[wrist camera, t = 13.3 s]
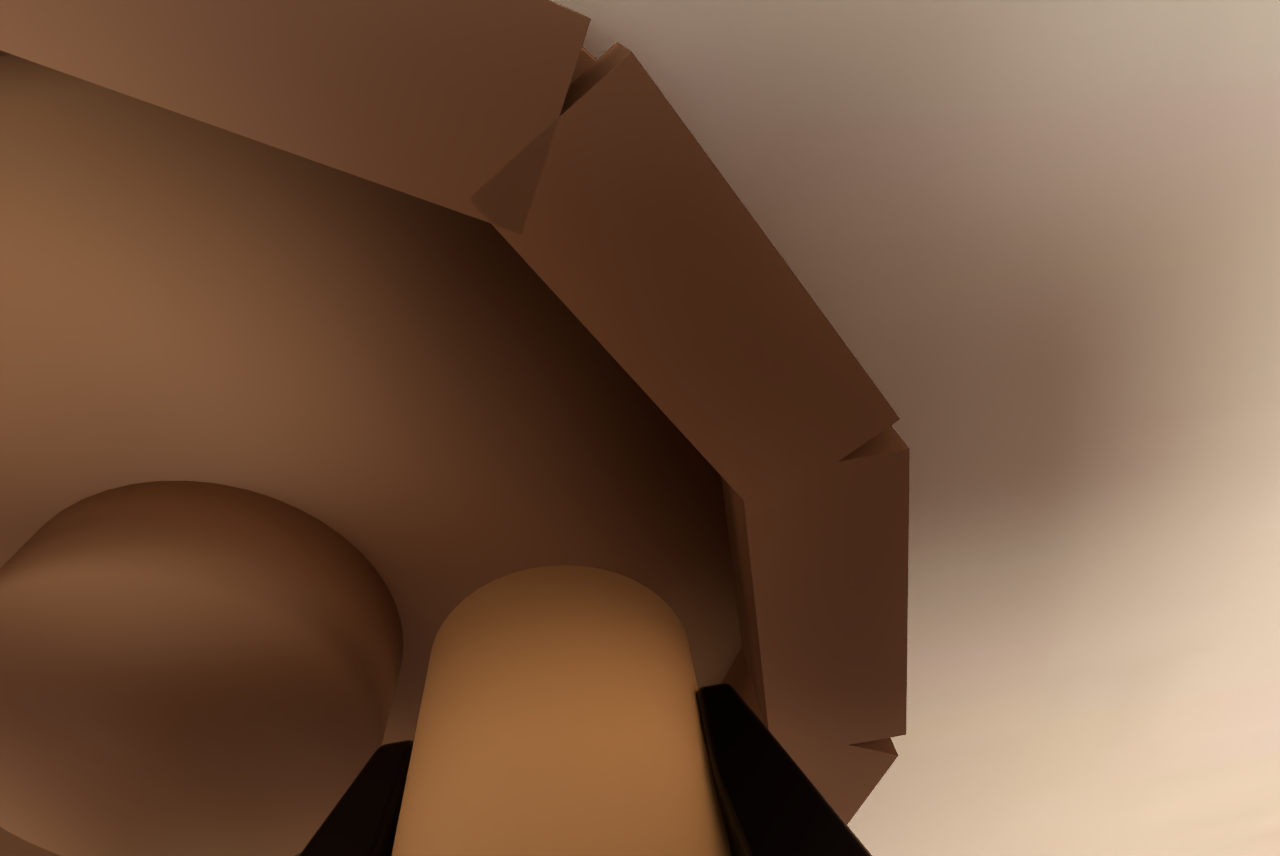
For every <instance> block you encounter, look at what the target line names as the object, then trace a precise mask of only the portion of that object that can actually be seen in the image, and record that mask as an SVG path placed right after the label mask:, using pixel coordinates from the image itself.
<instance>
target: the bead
mask: <svg viewBox="0 0 1280 856" xmlns="http://www.w3.org/2000/svg"><path fill="white" fill-rule="evenodd" d="M697 691H698V686H697V682H696V677H695V672H694V667H693V662H692V657H691V652H690V647H689V642H688V639H687V636H686V633H685V630H684V628H683V626H682V624H681V622H680V620H679V618H678V617H677V615H676V614H675V613H674V611H673V610H672V609H671V607H670V606H669V605H668V604H667V603H666V602H665V601H664V600H663V599H662V598H661V597H660V596H658V595H657V594H656V593H654V592H653V591H652V590H650V589H649V588H648V587H646V586H644V585H642V584H640V583H639V582H637V581H635V580H633V579H631V578H628V577H626V576H623V575H621V574H618V573H615V572H611V571H607V570H604V569H600V568H593V567H587V566H575V565H556V566H544V567H537V568H531V569H526V570H523V571H519V572H515V573H512V574H509V575H506V576H504V577H501V578H499V579H496V580H494V581H492V582H490V583H488V584H486V585H485V586H483V587H481V588H479V589H478V590H476V591H475V592H473V593H472V594H471V595H469V596H468V597H466V598H465V599H464V600H463V601H462V602H461V603H460V604H459V605H457V606H456V607H455V608H454V609H453V611H452V612H451V613H450V614H449V615H448V617H447V618H446V619H445V620H444V622H443V624H442V626H441V627H440V629H439V631H438V632H437V635H436V637H435V640H434V643H433V645H432V650H431V655H430V661H429V666H428V671H427V676H426V681H425V686H424V691H423V696H422V702H421V707H420V712H419V717H418V722H417V727H416V732H415V737H414V743H413V748H412V753H411V758H410V763H409V768H408V773H407V779H406V784H405V789H404V794H403V799H402V804H401V809H400V814H399V820H398V825H397V830H396V835H395V840H394V845H393V850H392V855H391V856H732V853H731V848H730V843H729V838H728V834H727V830H726V827H725V823H724V819H723V815H722V811H721V807H720V803H719V800H718V796H717V791H716V787H715V783H714V778H713V773H712V768H711V763H710V758H709V753H708V748H707V743H706V738H705V733H704V729H703V724H702V719H701V714H700V709H699V704H698V699H697Z"/></svg>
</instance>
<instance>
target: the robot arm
mask: <svg viewBox="0 0 1280 856" xmlns="http://www.w3.org/2000/svg"><path fill="white" fill-rule="evenodd" d="M697 699H698V704H699V709H700V714H701V719H702V724H703V729H704V733H705V738H706V743H707V748H708V753H709V758H710V763H711V768H712V773H713V778H714V783H715V787H716V791H717V796H718V800H719V803H720V807H721V811H722V815H723V819H724V823H725V827H726V830H727V834H728V838H729V843H730V848H731V853H732V856H872V855H871V854H870V853H869V851H868V850H867V849H866V848H865V847H864V845H863V844H862V843H861V842H860V840H859V839H858V838H857V837H856V836H855V834H854V833H853V832H852V831H851V830H850V828H849V827H848V826H847V825H846V823H845V822H844V821H843V820H842V819H841V817H840V816H839V815H838V814H837V813H836V811H835V810H834V809H833V808H832V806H831V805H830V804H829V803H828V802H827V800H826V799H825V798H824V797H823V795H822V794H821V793H820V792H819V791H818V789H817V788H816V787H815V786H814V785H813V783H812V782H811V781H810V780H809V778H808V777H807V776H806V775H805V774H804V772H803V771H802V770H801V769H800V768H799V766H798V765H797V764H796V763H795V761H794V760H793V759H792V758H791V757H790V755H789V754H788V753H787V752H786V750H785V749H784V748H783V747H782V746H781V744H780V743H779V742H778V741H777V740H776V738H775V737H774V736H773V735H772V733H771V732H770V731H769V730H768V729H767V727H766V726H765V725H764V724H763V722H762V721H761V720H760V719H759V718H758V716H757V715H756V714H755V713H754V712H753V710H752V709H751V708H750V707H749V705H748V704H747V703H746V702H745V701H744V699H743V698H742V697H741V696H740V695H739V693H738V692H737V691H736V690H735V688H734V687H733V686H731V685H730V684H728V683H721V684H715V685H710V686H704V687H701V688H699V689H698V691H697ZM413 743H414V741H413V740H406V741H400V742H394V743H389V744H384V745H382V746H380V747H379V748H378V749H377V750H376V751H375V752H374V754H373V755H372V756H371V758H370V759H369V761H368V762H367V763H366V765H365V766H364V767H363V769H362V770H361V771H360V773H359V774H358V776H357V777H356V778H355V780H354V781H353V782H352V784H351V785H350V787H349V788H348V789H347V791H346V792H345V793H344V795H343V796H342V797H341V799H340V800H339V802H338V803H337V804H336V806H335V807H334V808H333V810H332V811H331V812H330V814H329V815H328V817H327V818H326V819H325V821H324V822H323V823H322V825H321V826H320V828H319V829H318V830H317V832H316V833H315V834H314V836H313V837H312V838H311V840H310V841H309V843H308V844H307V845H306V847H305V848H304V849H303V851H302V852H301V854H300V855H299V856H391V855H392V850H393V845H394V840H395V835H396V830H397V825H398V820H399V814H400V809H401V804H402V799H403V794H404V789H405V784H406V779H407V773H408V768H409V763H410V758H411V753H412V748H413Z"/></svg>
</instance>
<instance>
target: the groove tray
mask: <svg viewBox="0 0 1280 856" xmlns="http://www.w3.org/2000/svg"><path fill="white" fill-rule="evenodd" d="M590 20H591V19H590V18H588V17H586V16H584V15H582V14H579V13H577V12H575V11H572V10H570V9H568V8H565V7H563V6H561V5H558V4H556V3H554V2H551V1H549V0H0V856H294V855H297V854H299V853H301V852H302V851H303V849H304V848H305V847H306V845H307V844H308V843H309V841H310V840H311V838H312V837H313V836H314V834H315V833H316V832H317V830H318V829H319V828H320V826H321V825H322V823H323V822H324V821H325V819H326V818H327V817H328V815H329V814H330V812H331V811H332V810H333V808H334V807H335V806H336V804H337V803H338V802H339V800H340V799H341V797H342V796H343V795H344V793H345V792H346V791H347V789H348V788H349V787H350V785H351V784H352V782H353V781H354V780H355V778H356V777H357V776H358V774H359V773H360V771H361V770H362V769H363V767H364V766H365V765H366V763H367V762H368V761H369V759H370V758H371V756H372V755H373V754H374V752H375V751H376V750H377V749H378V748H379V747H380V746H382V745H384V744H389V743H394V742H400V741H406V740H413V741H414V737H415V732H416V727H417V722H418V717H419V712H420V707H421V702H422V696H423V691H424V686H425V681H426V676H427V671H428V666H429V661H430V655H431V650H432V645H433V643H434V640H435V637H436V635H437V632H438V631H439V629H440V627H441V626H442V624H443V622H444V620H445V619H446V618H447V617H448V615H449V614H450V613H451V612H452V611H453V609H454V608H455V607H456V606H457V605H459V604H460V603H461V602H462V601H463V600H464V599H465V598H466V597H468V596H469V595H471V594H472V593H473V592H475V591H476V590H478V589H479V588H481V587H483V586H485V585H486V584H488V583H490V582H492V581H494V580H496V579H499V578H501V577H504V576H506V575H509V574H512V573H515V572H519V571H523V570H526V569H531V568H537V567H544V566H556V565H575V566H587V567H593V568H600V569H604V570H607V571H611V572H615V573H618V574H621V575H623V576H626V577H628V578H631V579H633V580H635V581H637V582H639V583H640V584H642V585H644V586H646V587H648V588H649V589H650V590H652V591H653V592H654V593H656V594H657V595H658V596H660V597H661V598H662V599H663V600H664V601H665V602H666V603H667V604H668V605H669V606H670V607H671V609H672V610H673V611H674V613H675V614H676V615H677V617H678V618H679V620H680V622H681V624H682V626H683V628H684V630H685V633H686V636H687V639H688V642H689V647H690V652H691V657H692V662H693V667H694V672H695V677H696V682H697V686H698V689H699V688H701V687H704V686H710V685H715V684H721V683H728V684H730V685H731V686H733V687H734V688H735V690H736V691H737V692H738V693H739V695H740V696H741V697H742V698H743V699H744V701H745V702H746V703H747V704H748V705H749V707H750V708H751V709H752V710H753V712H754V713H755V714H756V715H757V716H758V718H759V719H760V720H761V721H762V722H763V724H764V725H765V726H766V727H767V729H768V730H769V731H770V732H771V733H772V735H773V736H774V737H775V738H776V740H777V741H778V742H779V743H780V744H781V746H782V747H783V748H784V749H785V750H786V752H787V753H788V754H789V755H790V757H791V758H792V759H793V760H794V761H795V763H796V764H797V765H798V766H799V768H800V769H801V770H802V771H803V772H804V774H805V775H806V776H807V777H808V778H809V780H810V781H811V782H812V783H813V785H814V786H815V787H816V788H817V789H818V791H819V792H820V793H821V794H822V795H823V797H824V798H825V799H826V800H827V802H828V803H829V804H830V805H831V806H832V808H833V809H834V810H835V811H836V813H837V814H838V815H839V816H840V817H841V819H842V820H843V821H844V822H845V823H846V825H847V824H848V823H849V821H850V820H851V819H852V817H853V816H854V815H855V813H856V812H857V811H858V809H859V808H860V807H861V805H862V804H863V802H864V801H865V800H866V798H867V797H868V796H869V794H870V793H871V792H872V790H873V789H874V788H875V786H876V785H877V784H878V782H879V781H880V779H881V778H882V777H883V775H884V774H885V773H886V771H887V770H888V769H889V767H890V766H891V765H892V763H893V762H894V760H895V759H896V758H897V756H898V754H897V752H896V750H895V747H894V745H893V743H892V741H891V738H890V737H895V736H900V735H906V691H907V608H908V525H909V448H908V447H907V445H906V444H905V443H904V442H903V440H902V439H901V438H900V437H899V435H898V434H897V433H896V431H895V430H894V429H893V428H892V426H891V425H892V424H894V423H895V422H896V421H898V420H899V419H900V418H899V417H898V416H897V414H896V413H895V412H894V410H893V409H892V407H891V406H890V405H889V403H888V402H887V401H886V399H885V398H884V397H883V395H882V394H881V392H880V391H879V390H878V388H877V387H876V386H875V384H874V383H873V382H872V380H871V379H870V377H869V376H868V375H867V373H866V372H865V371H864V369H863V368H862V366H861V365H860V364H859V362H858V361H857V360H856V358H855V357H854V355H853V354H852V353H851V351H850V350H849V349H848V347H847V346H846V345H845V343H844V342H843V340H842V339H841V338H840V336H839V335H838V334H837V332H836V331H835V329H834V328H833V327H832V325H831V324H830V323H829V321H828V320H827V319H826V317H825V316H824V314H823V313H822V312H821V310H820V309H819V308H818V306H817V305H816V303H815V302H814V301H813V299H812V298H811V297H810V295H809V294H808V293H807V291H806V290H805V288H804V287H803V286H802V284H801V283H800V282H799V280H798V279H797V277H796V276H795V275H794V273H793V272H792V271H791V269H790V268H789V267H788V265H787V264H786V262H785V261H784V260H783V258H782V257H781V256H780V254H779V253H778V251H777V250H776V249H775V247H774V246H773V245H772V243H771V242H770V241H769V239H768V238H767V236H766V235H765V234H764V232H763V231H762V230H761V228H760V227H759V225H758V224H757V223H756V221H755V220H754V219H753V217H752V216H751V215H750V213H749V212H748V210H747V209H746V208H745V206H744V205H743V204H742V202H741V201H740V199H739V198H738V197H737V195H736V194H735V193H734V191H733V190H732V189H731V187H730V186H729V184H728V183H727V182H726V180H725V179H724V178H723V176H722V175H721V173H720V172H719V171H718V169H717V168H716V167H715V165H714V164H713V163H712V161H711V160H710V158H709V157H708V156H707V154H706V153H705V152H704V150H703V149H702V147H701V146H700V145H699V143H698V142H697V141H696V139H695V138H694V137H693V135H692V134H691V132H690V131H689V130H688V128H687V127H686V126H685V124H684V123H683V121H682V120H681V119H680V117H679V116H678V115H677V113H676V112H675V111H674V109H673V108H672V106H671V105H670V104H669V102H668V101H667V100H666V98H665V97H664V95H663V94H662V93H661V91H660V90H659V89H658V87H657V86H656V85H655V83H654V82H653V80H652V79H651V78H650V76H649V75H648V74H647V72H646V71H645V69H644V68H643V67H642V65H641V64H640V63H639V61H638V60H637V59H636V57H635V56H634V54H633V53H632V52H631V51H629V50H628V49H626V48H625V47H624V46H622V45H621V44H619V43H618V42H617V43H616V44H615V45H613V46H612V47H611V48H610V49H609V50H608V51H607V52H606V53H605V54H604V55H602V56H601V57H600V58H599V59H598V60H596V59H595V58H594V57H593V56H592V55H591V54H590V53H588V52H587V51H586V50H585V49H584V48H583V47H582V45H583V42H584V38H585V35H586V32H587V29H588V26H589V23H590Z"/></svg>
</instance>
